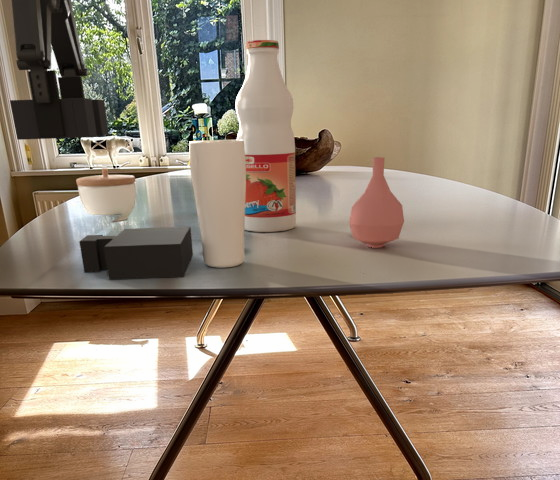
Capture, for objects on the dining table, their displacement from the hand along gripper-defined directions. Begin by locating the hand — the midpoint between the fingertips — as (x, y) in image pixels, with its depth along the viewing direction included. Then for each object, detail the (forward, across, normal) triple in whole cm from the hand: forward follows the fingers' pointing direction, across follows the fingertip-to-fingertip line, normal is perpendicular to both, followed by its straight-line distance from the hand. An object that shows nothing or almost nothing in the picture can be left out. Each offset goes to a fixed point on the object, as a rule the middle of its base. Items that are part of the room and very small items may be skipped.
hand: (66, 135), depth 71 cm
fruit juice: (+16, +26, -24) cm, 39 cm away
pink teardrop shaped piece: (+17, +8, -39) cm, 43 cm away
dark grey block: (0, 0, 0) cm, 0 cm away
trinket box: (+16, +41, +6) cm, 44 cm away
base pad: (+16, 0, -7) cm, 18 cm away
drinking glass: (+16, 0, -18) cm, 24 cm away
